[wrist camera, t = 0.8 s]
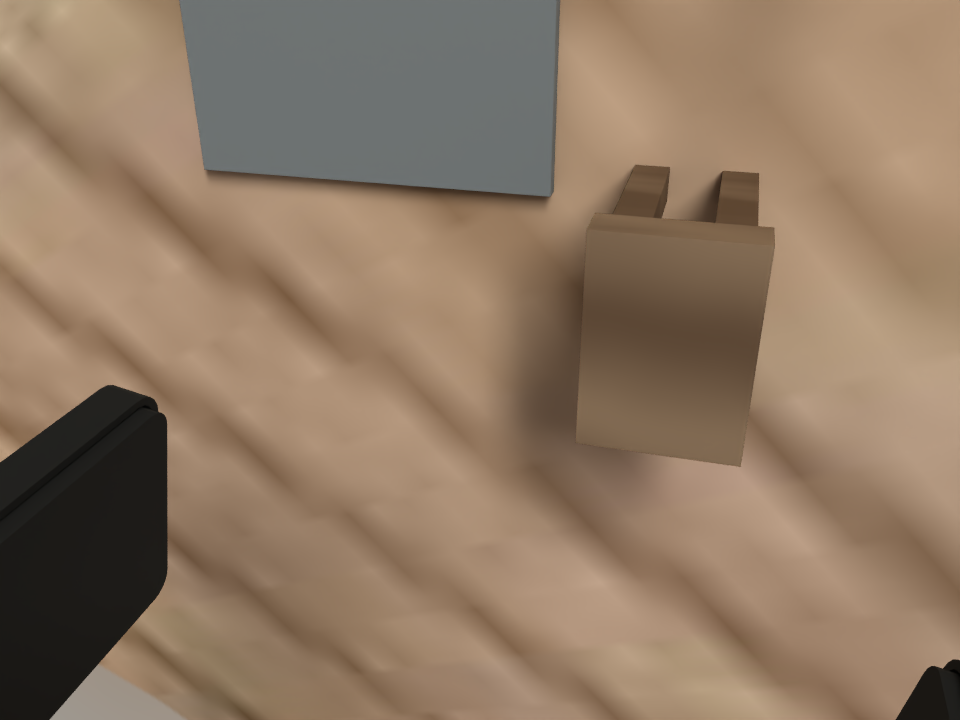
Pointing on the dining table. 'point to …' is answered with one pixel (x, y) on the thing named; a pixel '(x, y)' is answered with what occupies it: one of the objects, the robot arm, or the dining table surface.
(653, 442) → the walnut stool
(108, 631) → the robot arm
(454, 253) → the dining table surface
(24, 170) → the dining table surface
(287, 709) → the dining table surface
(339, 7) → the slate mat
